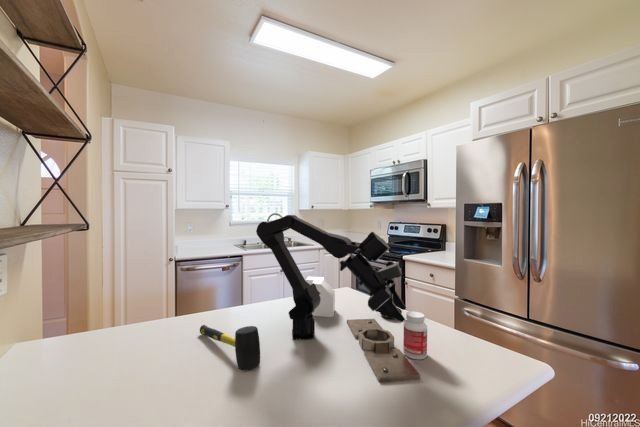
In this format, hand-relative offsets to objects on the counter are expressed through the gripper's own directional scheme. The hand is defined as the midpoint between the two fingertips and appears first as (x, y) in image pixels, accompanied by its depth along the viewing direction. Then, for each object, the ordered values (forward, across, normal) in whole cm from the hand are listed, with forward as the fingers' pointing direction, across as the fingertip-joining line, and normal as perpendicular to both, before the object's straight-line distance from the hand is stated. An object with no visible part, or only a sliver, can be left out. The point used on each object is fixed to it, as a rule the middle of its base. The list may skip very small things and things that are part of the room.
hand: (404, 314), depth 76 cm
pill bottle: (+10, 0, +6) cm, 11 cm away
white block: (-15, +22, +30) cm, 40 cm away
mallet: (-26, -15, +41) cm, 51 cm away
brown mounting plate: (+2, +2, +13) cm, 13 cm away
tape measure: (+4, +26, +12) cm, 29 cm away
